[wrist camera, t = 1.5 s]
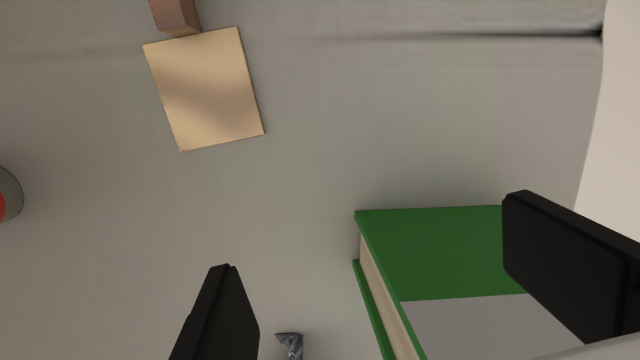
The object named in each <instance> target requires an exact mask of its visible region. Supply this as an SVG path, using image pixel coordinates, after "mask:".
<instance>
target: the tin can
mask: <svg viewBox="0 0 640 360" xmlns="http://www.w3.org/2000/svg"><path fill="white" fill-rule="evenodd" d="M23 202H24V196H23V192H22V189H21V187H20V185H19V183H18V182H17V180H16V179H15V178H14V177H13V176H12V175H11V174H10V173H9V172H8V171H6V170H5V169H3V168H2V167H0V224H2V223H4V222H6V221H8V220H10V219H12V218H14V217H15V216H16V215H18V213H19V212H20V211H21V209H22V207H23Z"/></svg>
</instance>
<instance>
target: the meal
mask: <svg viewBox="0 0 640 360" xmlns="http://www.w3.org/2000/svg"><path fill="white" fill-rule="evenodd" d="M275 336H276V337H277V338H278V340H279V341H280V343H285V344H286V345H287V346H288V347H289V350H290V351H289V353H288V356H289V358H290V360H303V359H302V356H303V335H301V334H298V333H286V334H278V335H277V334H275Z"/></svg>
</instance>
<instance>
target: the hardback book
mask: <svg viewBox="0 0 640 360" xmlns="http://www.w3.org/2000/svg"><path fill="white" fill-rule="evenodd" d="M355 220H356V222H357V225H358V227H359V229H360V231H361V244H360V260H353V269H354V272H355V275H356V278H357V281H358V284H359V287H360V290H361V293H362V296H363V299H364V302H365V305H366V308H367V311H368V314H369V317H370V320H371V323H372V326H373V329H374V332H375V335H376V338H377V341H378V344H379V347H380V350H381V353H382V356H383V359H384V360H526V359H530V358H534V357H538V356H542V355H546V354H550V353H554V352H558V351H563V350H567V349H571V348H575V347H579V346H583V345H585V344H584V343H583V342H581V341H580V340H579V339H578V338H577V337H576V336H575V335H574V334H573V333H572V332H570V331H569V330H568V329H567V328H566V327H565V326H564V325H563V324H562V323H561V322H559V321H558V320H557V319H556V318H555V317H554V316H553V315H552V314H551V313H550V312H548V311H547V310H546V309H545V308H544V307H543V306H542V305H541V304H540V303H538V302H537V301H536V300H535V299H534V298H533V297H532V296H531V295H530V294H529V293H527V292H526V291H525V290H524V289H523V288H522V287H521V286H520V285H519V284H518V283H516V282H515V281H514V280H513V279H512V278H511V277H510V276H509V275H508V274H507V273H506V271H505V269H504V267H503V246H502V206H501V205H490V206H465V207H439V208H414V209H389V210H363V211H355Z"/></svg>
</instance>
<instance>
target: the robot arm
mask: <svg viewBox="0 0 640 360" xmlns="http://www.w3.org/2000/svg"><path fill="white" fill-rule="evenodd" d="M502 246H503V267H504V269H505V271H506V273H507V274H508V275H509V276H510V277H511V278H512V279H513V280H514V281H515V282H516V283H518V284H519V285H520V286H521V287H522V288H523V289H524V290H525V291H526V292H527V293H529V294H530V295H531V296H532V297H533V298H534V299H535V300H536V301H537V302H538V303H540V304H541V305H542V306H543V307H544V308H545V309H546V310H547V311H548V312H550V313H551V314H552V315H553V316H554V317H555V318H556V319H557V320H558V321H559V322H561V323H562V324H563V325H564V326H565V327H566V328H567V329H568V330H569V331H570V332H572V333H573V334H574V335H575V336H576V337H577V338H578V339H579V340H580V341H581V342H583V343H584V344H585V345H583V346H579V347H575V348H571V349H567V350H563V351H558V352H554V353H550V354H546V355H542V356H538V357H534V358H530V359H526V360H640V243H639V242H637V241H635V240H632V239H630V238H628V237H626V236H624V235H622V234H620V233H618V232H615V231H613V230H611V229H609V228H607V227H605V226H603V225H601V224H598V223H596V222H594V221H592V220H590V219H588V218H586V217H584V216H581V215H579V214H577V213H575V212H573V211H571V210H569V209H567V208H565V207H563V206H561V205H558V204H556V203H554V202H552V201H550V200H548V199H546V198H544V197H542V196H539V195H537V194H535V193H533V192H531V191H529V190H521V191H517V192H513V193H509V194H507V195H506V197H505V199H503V200H502ZM259 340H260V331H259V326H258V323H257V321H256V318H255V315H254V313H253V310H252V308H251V305H250V302H249V300H248V297H247V294H246V292H245V289H244V287H243V284H242V281H241V279H240V276H239V274H238V271H237V269H236V267H235V266H232V267H231V266H230V265H229V264H228V263H226V264H222V265H218V266H214V267H211V268H210V269H209V271H208V274H207V276H206V278H205V281H204V283H203V285H202V288H201V290H200V292H199V295H198V297H197V299H196V302H195V304H194V306H193V309H192V311H191V313H190V314H189V315H188V317H187V318H186V321H185V323H184V325H183V327H182V330H181V332H180V334H179V337H178V339H177V341H176V343H175V346H174V348H173V350H172V353H171V355H170V357H169V359H168V360H257V356H258V348H259Z"/></svg>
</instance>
